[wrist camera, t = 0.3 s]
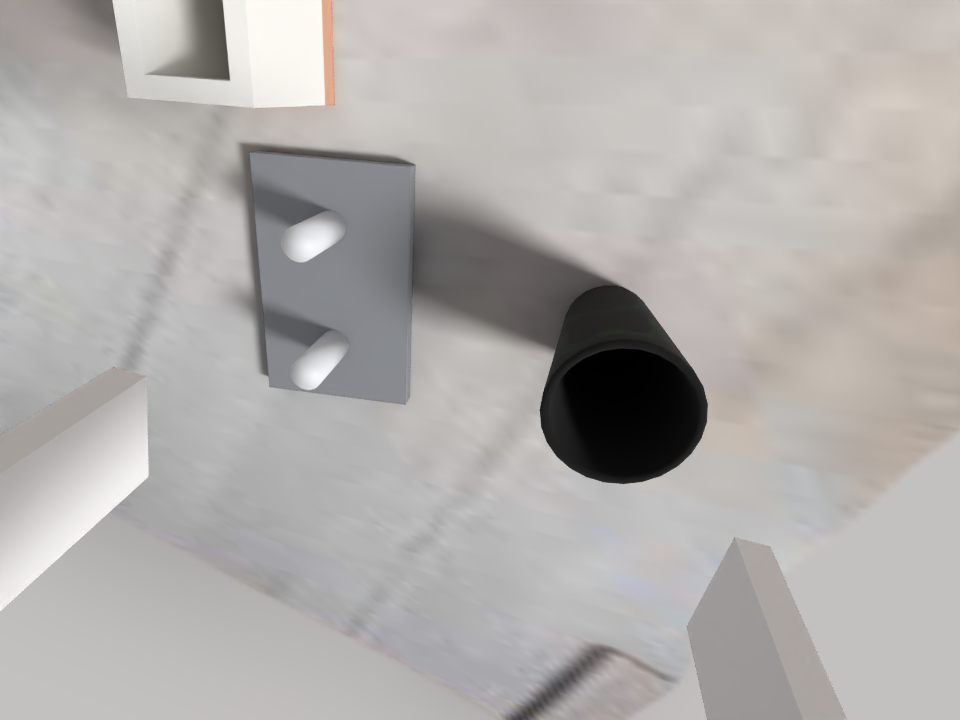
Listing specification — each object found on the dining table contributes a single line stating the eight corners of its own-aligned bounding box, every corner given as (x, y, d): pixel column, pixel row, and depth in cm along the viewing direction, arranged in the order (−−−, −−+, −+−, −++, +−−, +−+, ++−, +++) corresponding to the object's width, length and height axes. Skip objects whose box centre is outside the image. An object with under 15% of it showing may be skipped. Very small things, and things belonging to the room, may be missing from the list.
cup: (559, 387, 41) (555, 493, 30) (537, 282, 38) (525, 356, 27) (674, 370, 39) (715, 475, 28) (661, 258, 36) (700, 327, 26)
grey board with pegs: (258, 150, 37) (203, 160, 31) (415, 165, 36) (387, 177, 31) (276, 379, 44) (233, 421, 38) (409, 396, 43) (385, 442, 37)
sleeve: (228, -19, 33) (102, -62, 24) (331, -13, 33) (241, -54, 24) (238, 97, 36) (127, 97, 27) (334, 104, 35) (254, 107, 26)
